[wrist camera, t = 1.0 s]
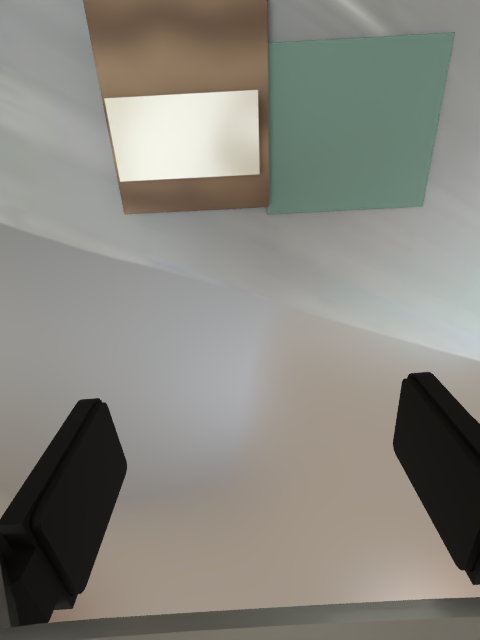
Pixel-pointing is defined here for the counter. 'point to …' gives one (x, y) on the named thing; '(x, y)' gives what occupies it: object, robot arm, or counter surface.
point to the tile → (185, 135)
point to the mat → (353, 121)
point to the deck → (184, 82)
